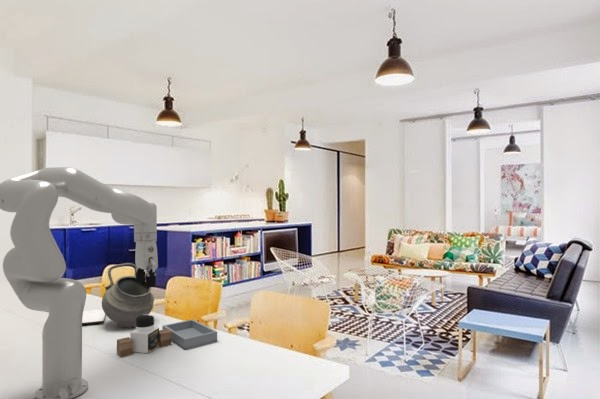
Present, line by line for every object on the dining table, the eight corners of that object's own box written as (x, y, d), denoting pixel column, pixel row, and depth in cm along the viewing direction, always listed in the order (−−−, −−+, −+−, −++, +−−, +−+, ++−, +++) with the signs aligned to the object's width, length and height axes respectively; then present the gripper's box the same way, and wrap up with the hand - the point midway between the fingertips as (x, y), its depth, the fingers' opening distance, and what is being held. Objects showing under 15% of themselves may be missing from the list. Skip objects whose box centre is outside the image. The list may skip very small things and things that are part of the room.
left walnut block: (132, 354, 139) (132, 340, 139) (120, 357, 136) (120, 342, 136) (128, 351, 142) (128, 337, 142) (116, 353, 139) (116, 339, 139)
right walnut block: (171, 344, 148) (171, 331, 148) (160, 347, 145) (160, 333, 145) (167, 341, 151) (167, 328, 151) (156, 344, 148) (156, 330, 148)
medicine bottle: (148, 353, 139) (148, 319, 139) (129, 352, 141) (130, 318, 141) (159, 346, 146) (159, 313, 146) (141, 344, 148) (141, 312, 148)
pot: (104, 319, 178) (104, 263, 178) (153, 314, 185) (154, 260, 185) (98, 334, 158) (99, 271, 158) (154, 328, 166) (154, 268, 166)
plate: (103, 325, 171) (103, 320, 171) (52, 330, 164) (52, 325, 164) (106, 313, 188) (106, 308, 188) (61, 317, 181) (61, 312, 181)
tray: (217, 341, 152) (217, 331, 152) (184, 350, 143) (184, 339, 143) (193, 328, 167) (193, 319, 167) (162, 335, 158) (162, 325, 158)
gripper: (165, 238, 139) (165, 287, 140) (147, 234, 152) (147, 279, 153) (143, 240, 134) (143, 290, 135) (126, 235, 147) (126, 282, 148)
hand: (145, 284), depth 144 cm, fingers open, 9 cm apart
